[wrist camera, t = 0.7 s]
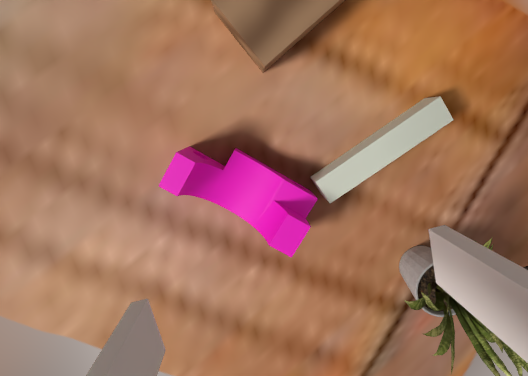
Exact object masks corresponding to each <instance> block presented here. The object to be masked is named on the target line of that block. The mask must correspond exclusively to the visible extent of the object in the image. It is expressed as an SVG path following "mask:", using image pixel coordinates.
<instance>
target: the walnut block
mask: <svg viewBox="0 0 528 376" xmlns="http://www.w3.org/2000/svg"><path fill="white" fill-rule="evenodd" d="M344 1H345V0H211V2H212V5H213V8H214V12H215V14H216V15H217V16H218V17H219V19H220V20H221V21H222V22H223V24H224V25H225V26H226V27H227V29H228V30H229V31H230V32H231V34H232V35H233V36H234V37H235V39H236V40H237V41H238V42H239V44H240V45H241V46H242V47H243V49H244V50H245V51H246V52H247V54H248V55H249V56H250V57H251V59H252V60H253V61H254V62H255V64H256V65H257V66H258V67H259V69H260V70H261V71H262V72H264V71H266V70H267V69H268V68H269V67H270V66H271V65H272V64H273V63H275V62H276V61H277V60H278V59H279V58H280V57H281V56H283V55H284V54H285V53H286V52H287V51H288V50H289V49H290V48H292V47H293V46H294V45H295V44H296V43H297V42H298V41H300V40H301V39H302V38H303V37H304V36H305V35H306V34H308V33H309V32H310V31H311V30H312V29H313V28H314V27H315V26H317V25H318V24H319V23H320V22H321V21H322V20H323V19H325V18H326V17H327V16H328V15H329V14H330V13H331V12H332V11H334V10H335V9H336V8H337V7H338V6H339V5H340V4H342V3H343V2H344Z"/></svg>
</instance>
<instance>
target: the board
mask: <svg viewBox="0 0 528 376" xmlns="http://www.w3.org/2000/svg"><path fill="white" fill-rule="evenodd" d="M451 121H453V118H452V116H451V114H450V113H449V111H448V109H447V107H446V105H445V104H444V102H443V100H442V98H441V96H439V97H431V98H424V99H423V100H421V101H420V102H418V103H417V104H415V105H414V106H413V107H411V108H410V109H408V110H407V111H405V112H404V113H402V114H401V115H400V116H398V117H397V118H395V119H394V120H392V121H391V122H389V123H388V124H386V125H385V126H384V127H382V128H381V129H379V130H378V131H376V132H375V133H373V134H372V135H370V136H369V137H368V138H366V139H365V140H363V141H362V142H360V143H359V144H357V145H356V146H355V147H353V148H352V149H350V150H349V151H347V152H346V153H344V154H343V155H341V156H340V157H339V158H337V159H336V160H334V161H333V162H331V163H330V164H328V165H327V166H325V167H324V168H323V169H321V170H320V171H318V172H317V173H315V174H314V175H312V176H311V177H310V178H311V179H312V181H313V182H314V184H315V185H316V187H317V188H318V190H319V191H320V192H321V194H322V195H323V197H324V198H325V199H326V200H327V201H328V202H329V203H332V202H333V201H335V200H336V199H338V198H339V197H341V196H342V195H344V194H345V193H347V192H348V191H349V190H351V189H352V188H354V187H355V186H357V185H358V184H360V183H361V182H363V181H364V180H366V179H367V178H369V177H370V176H372V175H373V174H375V173H376V172H378V171H379V170H380V169H382V168H383V167H385V166H386V165H388V164H389V163H391V162H392V161H394V160H395V159H397V158H398V157H400V156H401V155H403V154H404V153H406V152H407V151H409V150H410V149H411V148H413V147H414V146H416V145H417V144H419V143H420V142H422V141H423V140H425V139H426V138H428V137H429V136H431V135H432V134H434V133H435V132H437V131H438V130H440V129H441V128H442V127H444V126H445V125H447V124H448V123H450V122H451Z"/></svg>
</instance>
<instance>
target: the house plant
mask: <svg viewBox="0 0 528 376" xmlns="http://www.w3.org/2000/svg"><path fill="white" fill-rule="evenodd" d="M491 241H492V238H491V239H490V240H489V241H488V242H486V243H485V244H484V245H483V246H484V247H486V248H488V249H489V246H490V244H491ZM475 242H476V241H475ZM492 248H493V245H492V246H491V247H490V250H492ZM399 269H400V273H401V275H402V277H403V278H404V280H405V282H406V284H407V285H408V287H409V289H410V290H411V292H412V294H413V296H414V297H415V299H416V301H411V302H407V301H405V302H406V303H407V304H408V305H409V306H410V307H411V309H414V310H419V309H423V310H424V311H425V312H427V313H429V314H430V315H434V316H437V317H444V318H443V320H442V322H441V323H440V325H439V326H438V327H436V328H434V329H432V330H431V331H429V332H428V333H426V334H424V335H426V336H433V337H435V336H438V335H440V334H441V333H442V332H443V331H444V334H443V337H442V340H441V342H440V345H439V348H438V350H437V352H436V353H435V354H434V356H435V355H443V354H444V353H445V352H447V350H448V349H449V347H450V344H451V352H452V369H453V363H454V354H455V351H454V339H455V331H454V323H453V318H452V315H455V314H456V315H457V317H458V319H459V321H460V323H461V325H462V327H463V329H464V330H465V332H466V334H467V335H468V337H469V339H470V340H471V342H472V344H473V346H474V348H475V350H476V351H477V353H478V354H479V356H480V358H481V359H482V360H483V362H484V363H485V364H486V365H487V366H488V368H489V369H490V370H491V371H492V372H493V374H494V375H495V376H500V374H499V373H498V371H497V370H496V368H495V365H494V363H495V364H496V365H497V366H498V367H499V368H500V369H501V370H502V371H503V372H504V373H505V374H506V375H507V376H512V375H511V374H510V372H509V371H508V370H507V368H506V366H505V365H504V363H503V362H502V361H501V359H500V358H499V357H498V356H497V354H496V353H495V352H494V350H493V349H492V348H491V346H490V345H489V343H488V342H487V340H488V341H489V342H496V343H497V344H498V346H499V347H500V349H501V351H503V348H504V350H505V351H506V353H507V354H508V356H509V358H510V359H511V360H512V362H513V363H514V365H515V366H516V368H517V371H518V374H519V376H522V367H523V368H524V369H525V370H526V371H527V372H528V363H527V362H526V361H525V360H524V359H522V358H521V357H520V356H519V355H518V354H517V353H516V352H514V351H513V350H512V349H511V348H510V347H509V346H508V345H506V344H505V343H504V342H503V341H502V340H501V339H500V338H498V337H497V336H496V335H495V334H494V333H493V332H492V331H490V330H489V329H488V328H487V327H486V326H485V325H483V324H482V323H481V322H480V321H479V320H478V319H477V318H475V317H474V316H473V315H472V314H471V313H470V312H469V311H467V310H466V309H465V308H464V307H463V306H462V305H461V304H459V303H458V302H457V301H456V300H455V299H454V298H453V297H451V296H450V295H449V294H448V293H447V292H446V291H445V290H443V289H442V288H441V287H440V286H439V285H438V284H437V283H436V279H435V272H434V265H433V258H432V250H431V248H430V247H427V246H415V247H412V248H410V249H409V250H407V251H406V252H405V253H404V254H403V256H402V257H401V260H400V264H399ZM450 318H451V319H450ZM444 329H445V330H444ZM451 336H452V339H451ZM485 338H486V339H487V340H486V339H485ZM483 347H484V348H483ZM485 350H486V351H485ZM487 353H488V354H487ZM492 360H493V361H494V363H493V361H492ZM521 366H522V367H521ZM452 369H451V373H452Z"/></svg>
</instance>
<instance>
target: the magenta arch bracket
mask: <svg viewBox="0 0 528 376" xmlns="http://www.w3.org/2000/svg"><path fill="white" fill-rule="evenodd" d="M159 187H161V188H163V189H165V190H167V191H168V192H170V193H172V194H174V195H176V196H179V195H191V196H196V197H200V198H203V199H206V200H208V201H211V202H213V203H216V204H218V205H220V206H222V207H224V208H226V209H228V210H229V211H231V212H233V213H235V214H236V215H238V216H239V217H241V218H242V219H244V220H245V221H247V222H248V223H249V224H251V225H252V226H253V227H254V228H255V229H256V230H258V231H259V232H260V233H261V234H262V236H263V237H264V238H265V239H266V241H267V242H268V244H269V246H271V247H273V248H275V249H277V250H279V251H280V252H282V253H284V254H286V255H288V256H290V257H292V256H293V254H294V253H295V251H296V249H297V248H298V246H299V245H300V243H301V242H302V240H303V238H304V237H305V235H306V234H307V232H308V230H309V229H310V227H311V226H310V225H309V223H308V221H307V220H306V217H307V215H308V214H309V212H310V211H311V209H312V207H313V206H314V204H315V203H316V201H317V197H316V196H315V195H314V194H313V193H312V192H311V191H310V190H309V189H307V188H305V187H303V186H302V185H300V184H298V183H296V182H295V181H293V180H291V179H289V178H288V177H286V176H284V175H282V174H281V173H279V172H277V171H275V170H274V169H272V168H270V167H268V166H267V165H265V164H263V163H261V162H260V161H258V160H256V159H254V158H253V157H251V156H249V155H248V154H246V153H244V152H242V151H241V150H239V149H237V148H235V150H234V152H233V153H232V155H231V157H230V159H229V160H228V162H227V164H226V166H224V165H222V164H220V163H219V162H217V161H215V160H213V159H212V158H210V157H208V156H206V155H204V154H203V153H201V152H199V151H197V150H196V149H194V148H192V147H190V146H189V147H187V148H185V149H183V150H180V151H178V152H176V154H175V156H174V158H173V160H172V162H171V163H170V165H169V167H168V169H167V171H166V173H165V175H164V177H163V178H162V180H161V182H160V184H159Z"/></svg>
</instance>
